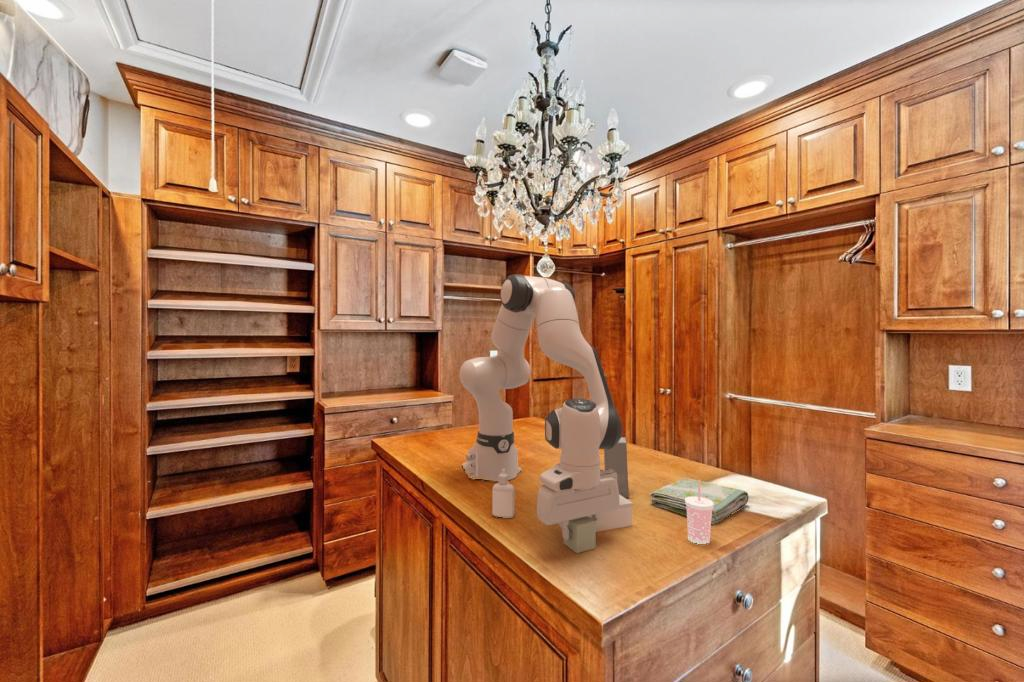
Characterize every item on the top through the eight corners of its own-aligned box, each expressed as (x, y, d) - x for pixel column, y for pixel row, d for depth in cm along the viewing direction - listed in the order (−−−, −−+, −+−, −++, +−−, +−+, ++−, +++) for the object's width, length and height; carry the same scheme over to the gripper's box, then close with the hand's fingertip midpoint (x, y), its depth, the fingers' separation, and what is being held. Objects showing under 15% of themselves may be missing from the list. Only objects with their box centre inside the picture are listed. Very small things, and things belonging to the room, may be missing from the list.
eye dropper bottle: (506, 521, 112) (506, 474, 111) (489, 515, 115) (489, 469, 115) (517, 516, 115) (517, 469, 115) (500, 510, 119) (500, 465, 118)
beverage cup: (678, 535, 105) (679, 476, 104) (701, 532, 106) (702, 474, 106) (695, 548, 99) (696, 485, 98) (719, 545, 100) (720, 483, 100)
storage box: (559, 513, 118) (559, 490, 118) (603, 506, 122) (604, 484, 122) (584, 535, 105) (584, 510, 105) (632, 527, 110) (633, 503, 110)
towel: (647, 506, 123) (647, 487, 123) (688, 488, 136) (688, 472, 136) (711, 529, 109) (712, 508, 109) (750, 507, 122) (750, 489, 122)
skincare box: (629, 498, 127) (629, 443, 127) (603, 496, 129) (603, 441, 128) (627, 488, 136) (628, 436, 135) (603, 486, 137) (603, 435, 137)
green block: (563, 543, 100) (563, 516, 100) (581, 538, 103) (582, 512, 103) (576, 553, 96) (577, 525, 96) (595, 548, 98) (595, 521, 98)
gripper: (607, 463, 106) (607, 520, 107) (533, 476, 97) (532, 538, 98) (626, 471, 101) (625, 531, 101) (548, 485, 91) (548, 551, 92)
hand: (579, 535), depth 99 cm, fingers closed on green block, 5 cm apart
